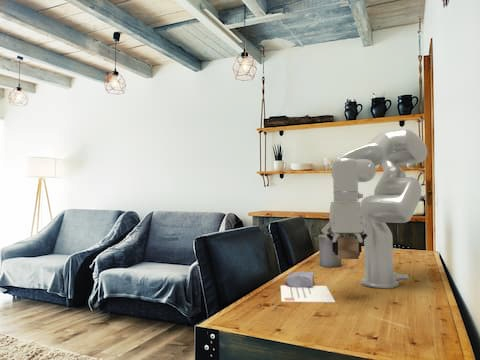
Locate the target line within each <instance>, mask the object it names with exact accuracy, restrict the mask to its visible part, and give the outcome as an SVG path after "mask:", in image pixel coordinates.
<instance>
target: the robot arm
mask: <svg viewBox="0 0 480 360" xmlns="http://www.w3.org/2000/svg"><path fill="white" fill-rule="evenodd" d="M427 156H428V148H427V145H426V143H425V142H424V141H423V140H422V139H421V138H420V136H419V135H417V134H416V133H415V132H413V131H412V130H410V129H407V128H402V129H401V128H400V129H396V130H395V129H394V130H388V131H387V130H386V131H383V132H380V133H378V134H377V135H376V136H375V137H374V138H372V139H371V140H370V141H369V142H368V143H367V144H365V145H364V146H361V147H358V148H356V149H354V150H351V151H349V152H347V153H345V154H343V155H341V156H340V157H339V158H336V159H335V160H333V162H332V167H331V177H332V181H333V182H332V183H333V189H332V190H333V192H332V193H333V201H331V202H330V207H329V217H328V219H329V221H328V222H327V223H326V224H325V226H323V228H322V229H321V232H322V233H323V234H325V235H326V236H327V237H328V238H329V239H330V240H331V241H332V251H333V252H334V254H335V255H338V243H337V238H338V235H341V234H343V235H344V234H346V235H347V234H349V235H350V234H353V235H354V236H355V238H357V239H359V257H360V256H361V253H362V243H364V245H363V247H364V248H363V249H364V250H363V251H364V277H363V278H361V279H360V284H361V285H363V286H364V287H365V286H366V287H369V288H375V289H376V288H377V289H393V288H394V289H395V288H397V287H399V285H400V284H399V281H401V280H402V281H408V280H409V274H407V273H406V274H404V273H397V272H396V271H394V245H393V243H394V242H393V233H392V230H391V229H390V227H389V226H388V225H387V223H395V224H398V223H399V224H401V223H402V224H403V223H408V222H409V221H410V220H411V219H412V217H413V215H414V213H415V211H416V209H417V207H418V204H419V202H420V200H421V196H422V186H421V183H420V181H419V180H418V179H417V178H415V177H412V176H407V174H406V172H405V171H404V170H403V169H402V167H400V166H399V165H406V164H418V163H419V164H420V163H423V162H424V161H426V159H427ZM379 165H381V167H382V172H383V173H382V175H381V176H380V179H379V180H378V182H377V184H376V186H375V188H374V190H373V194H372V195H368V196H366V197H364V194H363V193H360V192H359V183H367V182H369V181H372V180H373V179H374V178H375V177H376V174H377V166H379ZM360 199H362V200H361V201H359V200H360ZM328 230H329V231H330V232H329V231H328ZM331 234H333V235H331Z"/></svg>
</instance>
